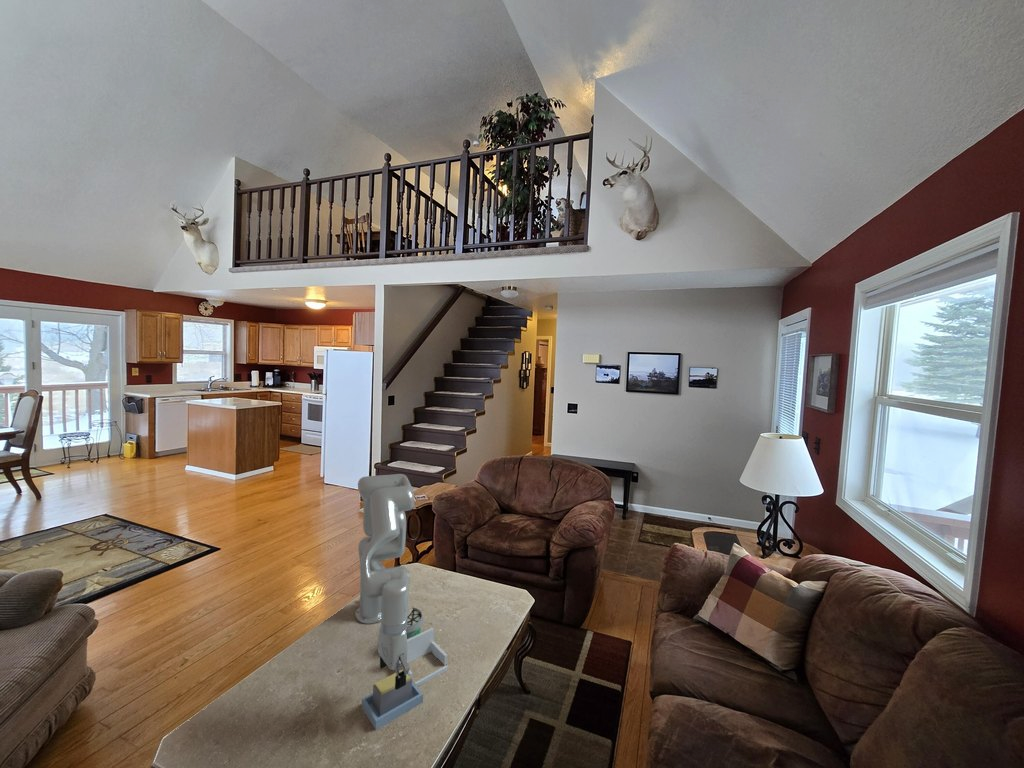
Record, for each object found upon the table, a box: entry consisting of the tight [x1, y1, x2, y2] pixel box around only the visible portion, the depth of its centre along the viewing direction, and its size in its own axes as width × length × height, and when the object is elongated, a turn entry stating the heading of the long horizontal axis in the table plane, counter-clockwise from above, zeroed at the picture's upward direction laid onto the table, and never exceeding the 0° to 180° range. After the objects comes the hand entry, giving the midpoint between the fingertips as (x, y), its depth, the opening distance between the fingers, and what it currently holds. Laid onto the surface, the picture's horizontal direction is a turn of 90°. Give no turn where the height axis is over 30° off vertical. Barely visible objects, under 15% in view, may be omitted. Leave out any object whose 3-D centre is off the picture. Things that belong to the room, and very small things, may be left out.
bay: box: [398, 627, 449, 688], centre depth 144 cm, size 12×14×8 cm
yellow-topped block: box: [372, 669, 413, 716], centre depth 129 cm, size 5×10×7 cm, turn 132°
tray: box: [361, 680, 424, 731], centre depth 129 cm, size 10×15×3 cm, turn 132°
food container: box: [406, 606, 424, 639], centre depth 154 cm, size 12×6×10 cm, turn 168°
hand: (392, 676), depth 129 cm, fingers open, 9 cm apart
